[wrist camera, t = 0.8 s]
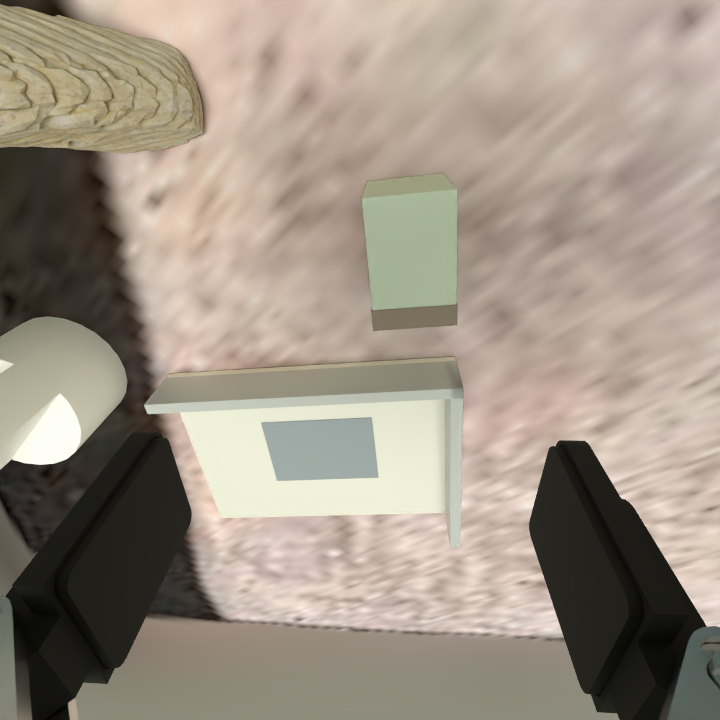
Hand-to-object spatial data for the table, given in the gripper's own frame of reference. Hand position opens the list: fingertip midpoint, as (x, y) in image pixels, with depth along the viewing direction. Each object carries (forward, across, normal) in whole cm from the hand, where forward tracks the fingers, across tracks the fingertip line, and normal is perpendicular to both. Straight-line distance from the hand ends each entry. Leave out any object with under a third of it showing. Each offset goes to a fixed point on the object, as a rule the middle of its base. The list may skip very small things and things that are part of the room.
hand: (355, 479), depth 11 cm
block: (+20, -2, -1) cm, 20 cm away
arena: (+20, +4, +17) cm, 26 cm away
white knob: (+20, +24, +9) cm, 33 cm away
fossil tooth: (+20, +17, -9) cm, 28 cm away
